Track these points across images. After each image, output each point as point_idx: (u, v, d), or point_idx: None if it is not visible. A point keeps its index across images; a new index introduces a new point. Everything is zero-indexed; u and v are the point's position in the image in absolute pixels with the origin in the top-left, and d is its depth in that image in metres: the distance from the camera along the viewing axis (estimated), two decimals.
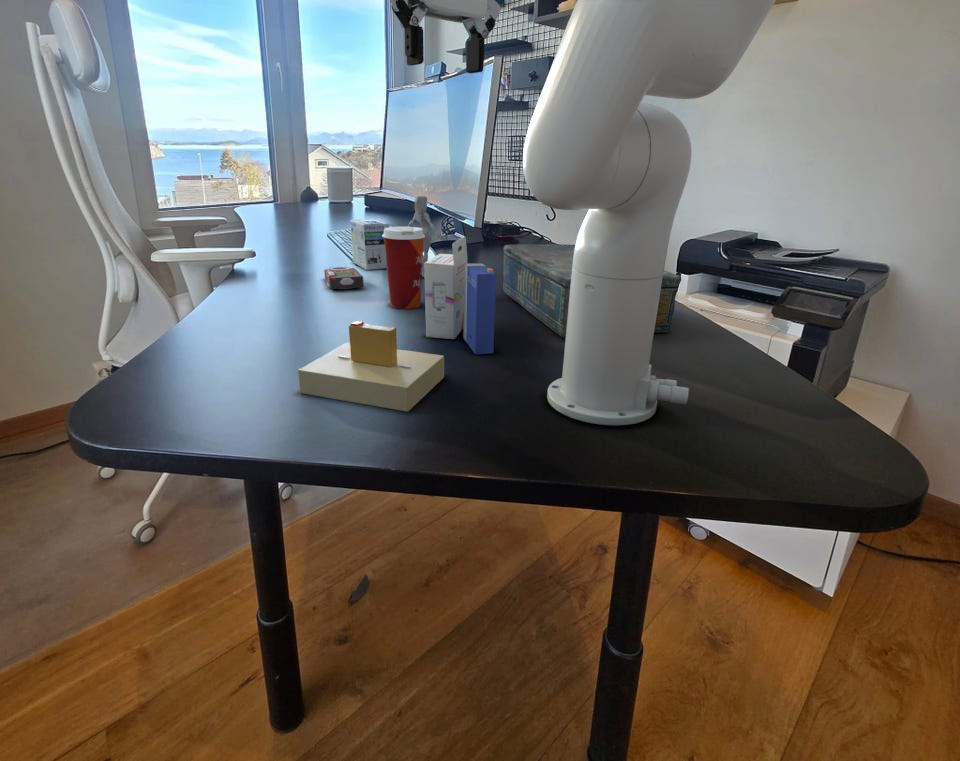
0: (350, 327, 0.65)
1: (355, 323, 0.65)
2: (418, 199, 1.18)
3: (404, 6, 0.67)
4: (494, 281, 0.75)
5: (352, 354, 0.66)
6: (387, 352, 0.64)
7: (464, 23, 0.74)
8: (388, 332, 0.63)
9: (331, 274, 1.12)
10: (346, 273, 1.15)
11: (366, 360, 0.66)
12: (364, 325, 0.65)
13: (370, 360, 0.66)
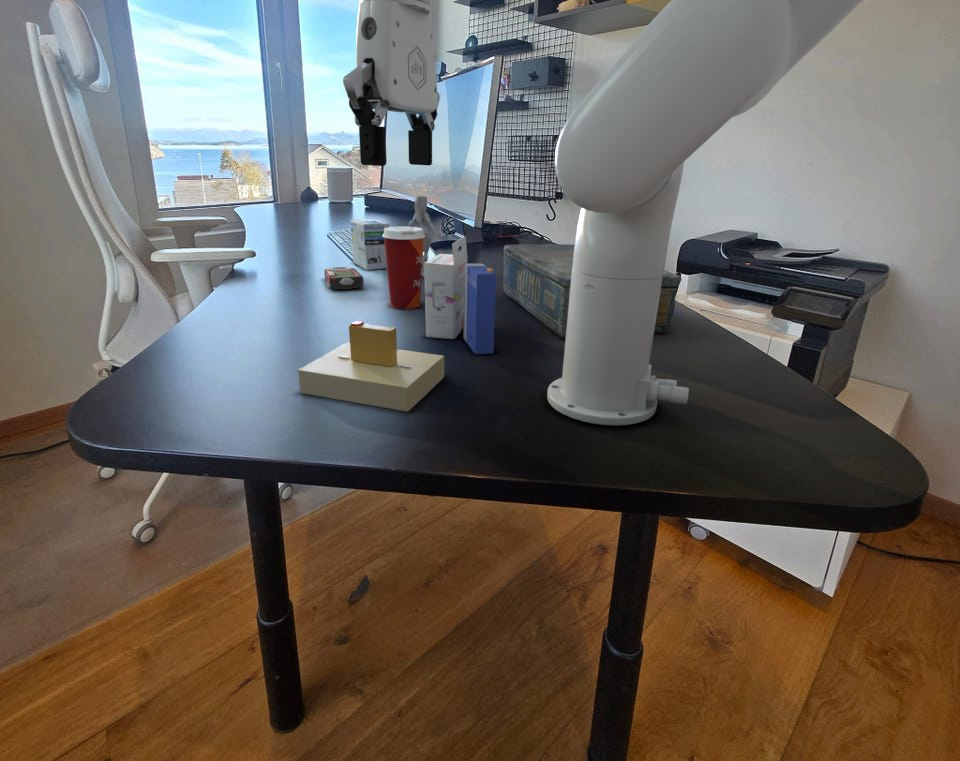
0: (350, 327, 0.65)
1: (355, 323, 0.65)
2: (418, 199, 1.18)
3: (366, 104, 0.57)
4: (494, 281, 0.75)
5: (352, 354, 0.66)
6: (387, 352, 0.64)
7: (407, 113, 0.67)
8: (388, 332, 0.63)
9: (331, 274, 1.12)
10: (346, 273, 1.15)
11: (366, 360, 0.66)
12: (364, 325, 0.65)
13: (370, 360, 0.66)
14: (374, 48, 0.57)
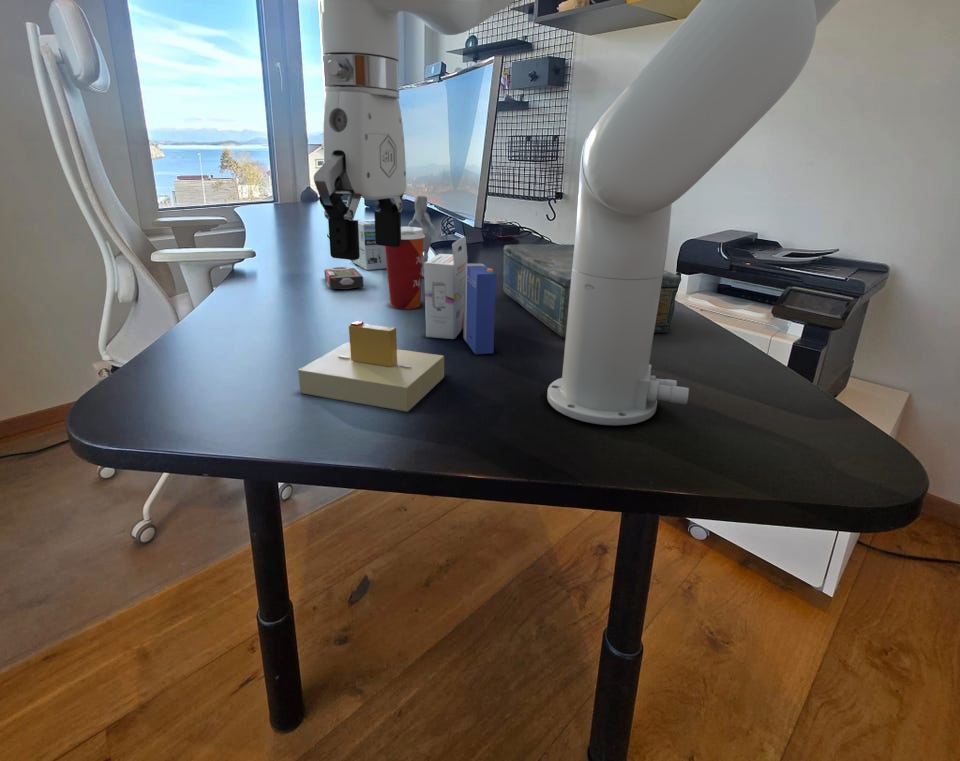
0: (350, 327, 0.65)
1: (355, 323, 0.65)
2: (418, 199, 1.18)
3: (339, 200, 0.53)
4: (494, 281, 0.75)
5: (352, 354, 0.66)
6: (387, 352, 0.64)
7: None
8: (388, 332, 0.63)
9: (331, 274, 1.12)
10: (346, 273, 1.15)
11: (366, 360, 0.66)
12: (364, 325, 0.65)
13: (370, 360, 0.66)
14: (345, 141, 0.53)
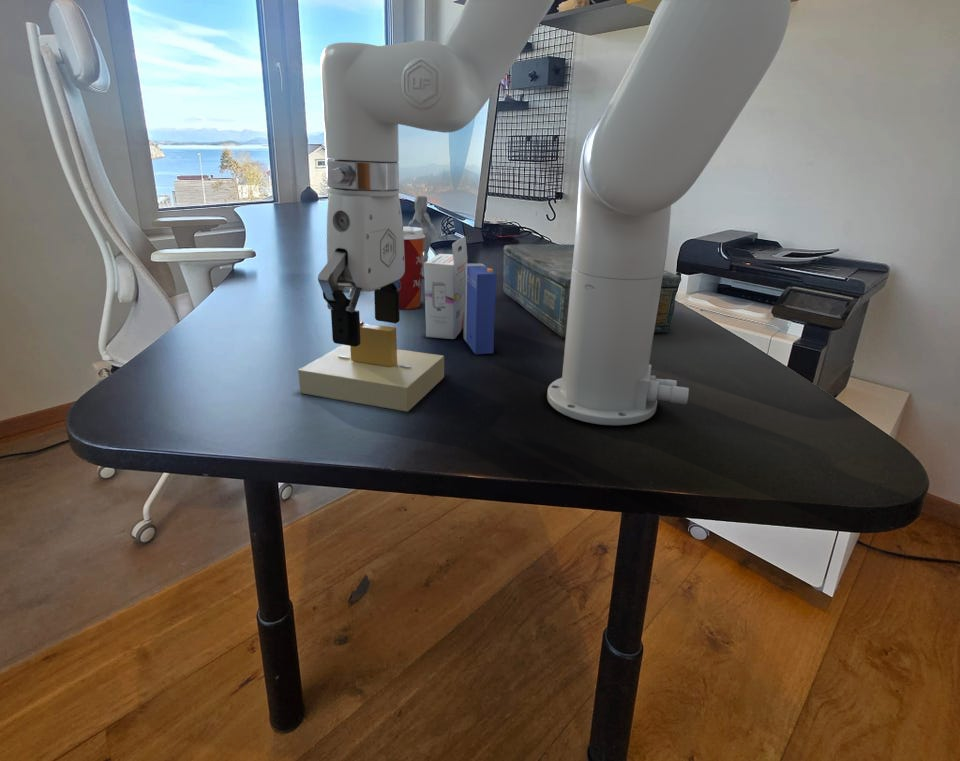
0: None
1: None
2: (418, 199, 1.18)
3: (341, 296, 0.56)
4: (494, 281, 0.75)
5: (352, 354, 0.66)
6: (387, 352, 0.64)
7: None
8: (388, 332, 0.63)
9: None
10: None
11: (366, 360, 0.66)
12: (364, 325, 0.65)
13: (370, 360, 0.66)
14: (348, 241, 0.56)
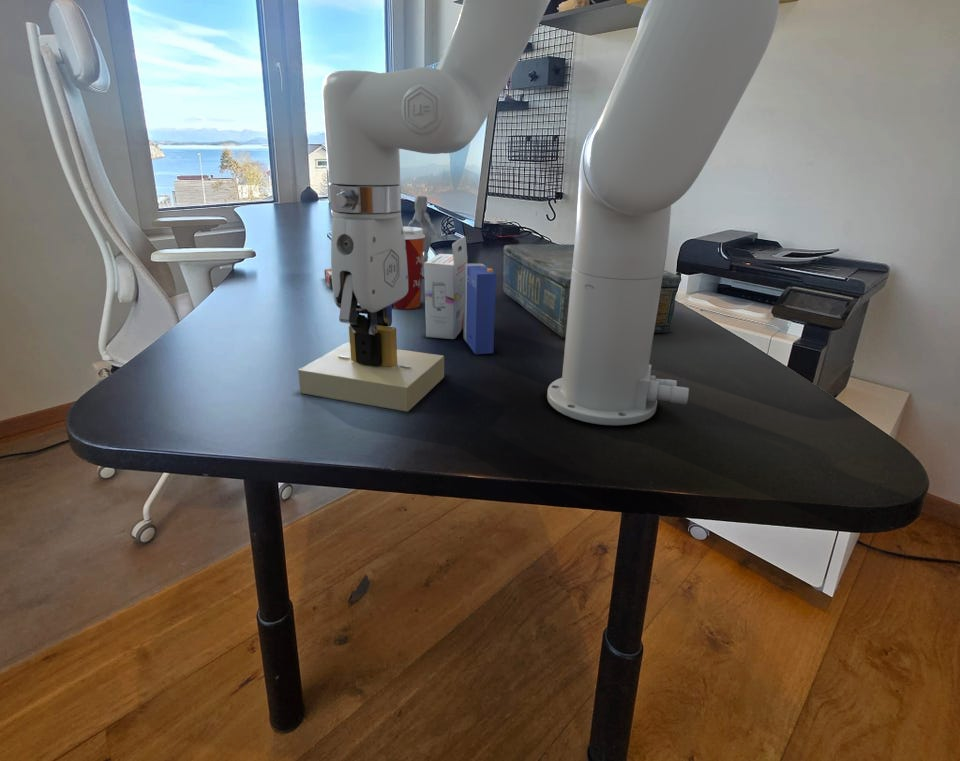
0: (350, 327, 0.65)
1: None
2: (418, 199, 1.18)
3: (365, 321, 0.61)
4: (494, 281, 0.75)
5: (352, 354, 0.66)
6: (387, 352, 0.64)
7: None
8: (388, 332, 0.63)
9: (331, 274, 1.12)
10: None
11: None
12: None
13: None
14: (352, 263, 0.57)
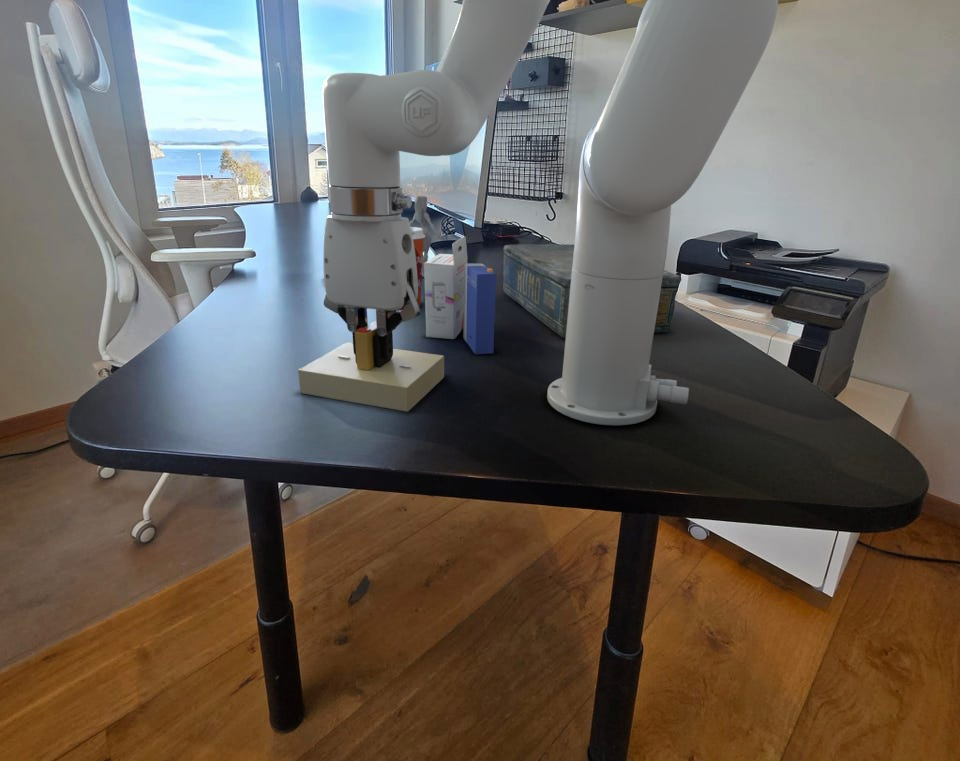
0: (368, 334, 0.62)
1: (366, 329, 0.63)
2: (418, 199, 1.18)
3: None
4: (494, 281, 0.75)
5: (369, 362, 0.64)
6: None
7: (356, 309, 0.63)
8: None
9: None
10: None
11: None
12: (367, 328, 0.64)
13: None
14: (412, 260, 0.61)
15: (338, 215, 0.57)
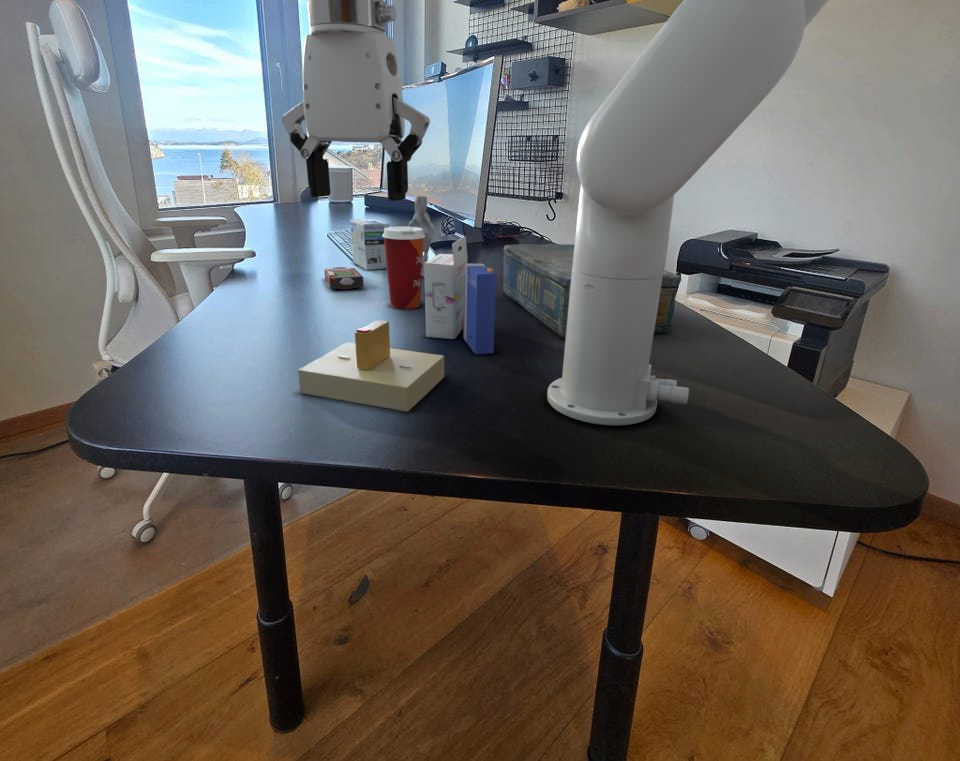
0: (368, 334, 0.62)
1: (366, 329, 0.63)
2: (418, 199, 1.18)
3: None
4: (494, 281, 0.75)
5: (369, 362, 0.64)
6: (388, 343, 0.67)
7: (320, 141, 0.60)
8: (388, 323, 0.67)
9: (331, 274, 1.12)
10: (346, 273, 1.15)
11: (377, 361, 0.65)
12: (367, 328, 0.64)
13: (379, 359, 0.66)
14: (397, 85, 0.57)
15: (317, 25, 0.53)
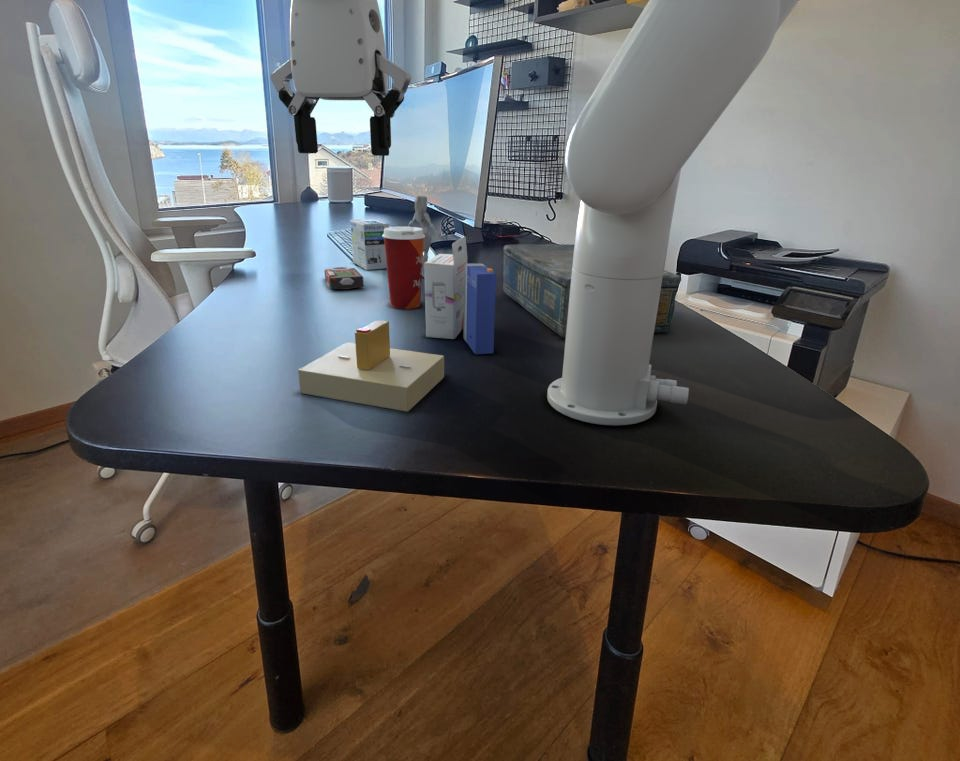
0: (368, 334, 0.62)
1: (366, 329, 0.63)
2: (418, 199, 1.18)
3: None
4: (494, 281, 0.75)
5: (369, 362, 0.64)
6: (388, 343, 0.67)
7: (307, 98, 0.62)
8: (388, 323, 0.67)
9: (331, 274, 1.12)
10: (346, 273, 1.15)
11: (377, 361, 0.65)
12: (367, 328, 0.64)
13: (379, 359, 0.66)
14: (380, 42, 0.59)
15: None
